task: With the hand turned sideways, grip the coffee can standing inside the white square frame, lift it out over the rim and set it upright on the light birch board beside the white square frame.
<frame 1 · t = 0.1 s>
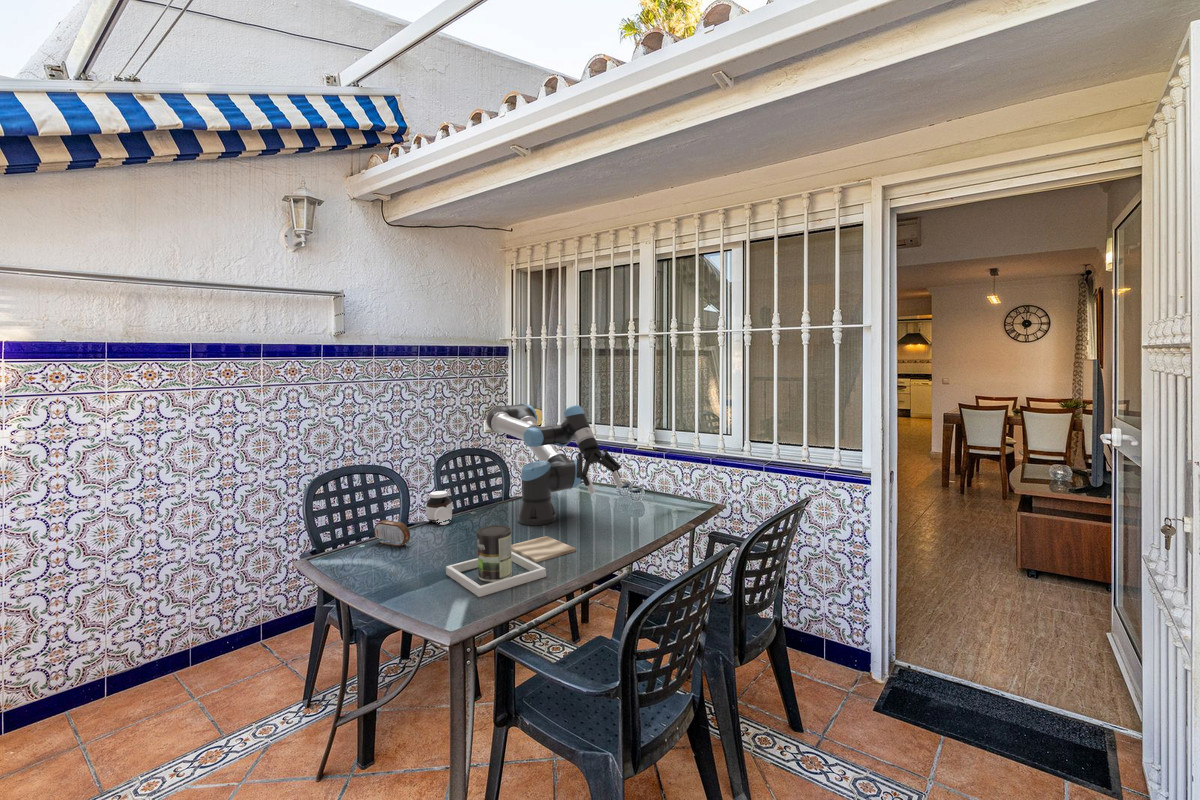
hand: (607, 490, 213), 15 cm above the table, tool tilted 35°, fingers open, 13 cm apart
coffee can: (495, 576, 171), resting in white square frame
tin: (392, 545, 202), on the table
board: (541, 549, 193), on the table
white square frame: (495, 575, 171), on the table
spread jar: (441, 522, 229), on the table
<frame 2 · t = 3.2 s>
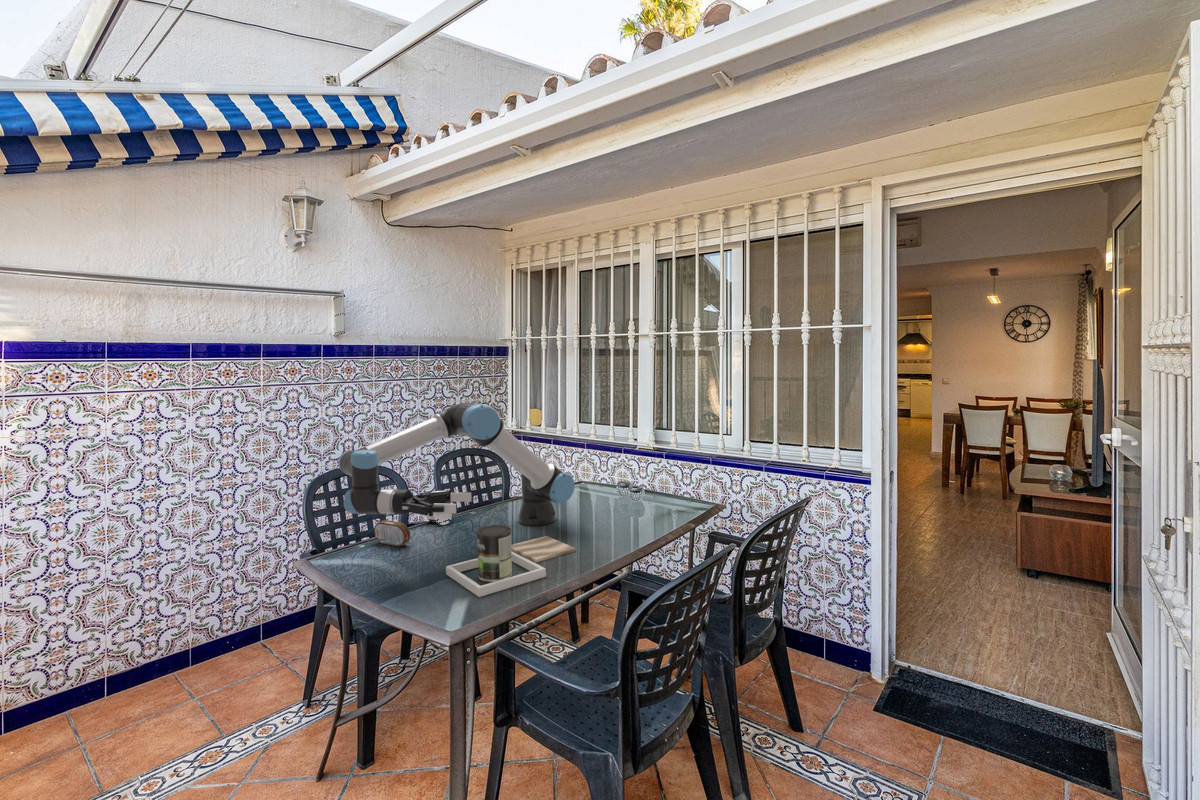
hand: (463, 502, 171), 22 cm above the table, tool horizontal, fingers open, 13 cm apart
nothing on the table moved.
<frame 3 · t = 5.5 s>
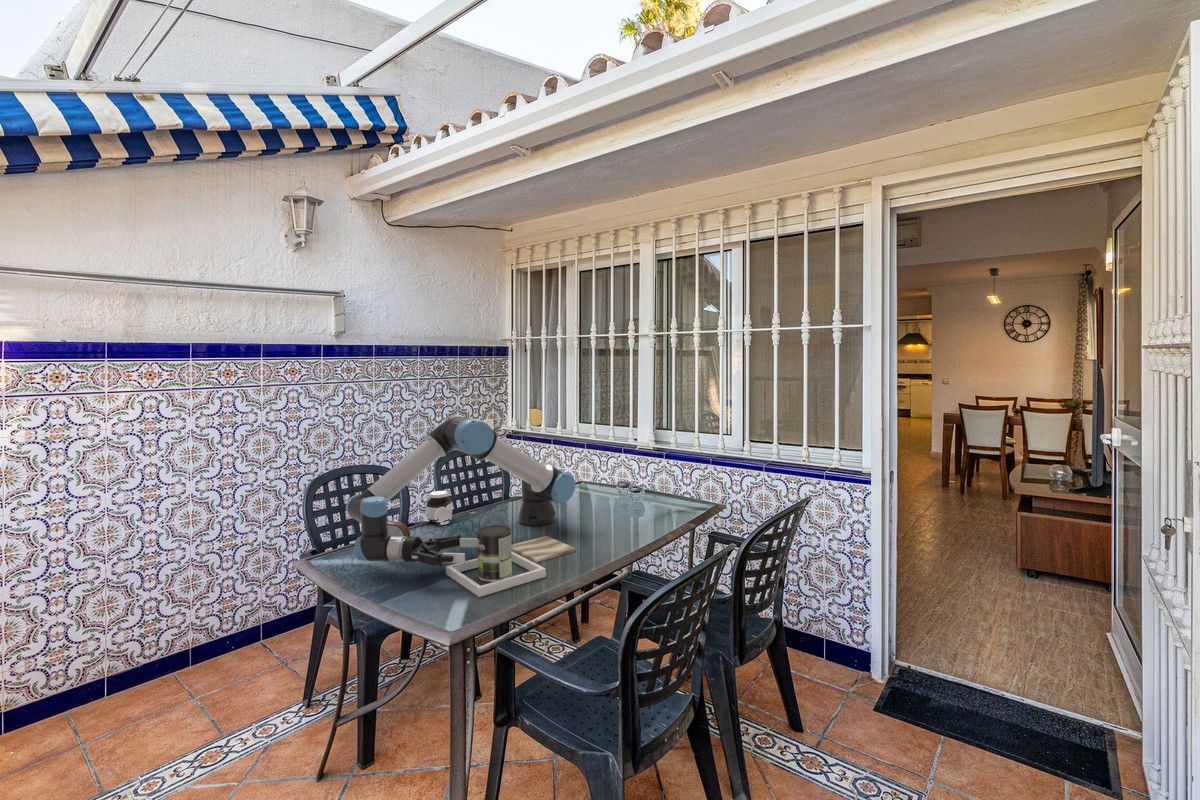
hand: (472, 550, 171), 8 cm above the table, tool horizontal, fingers open, 13 cm apart
nothing on the table moved.
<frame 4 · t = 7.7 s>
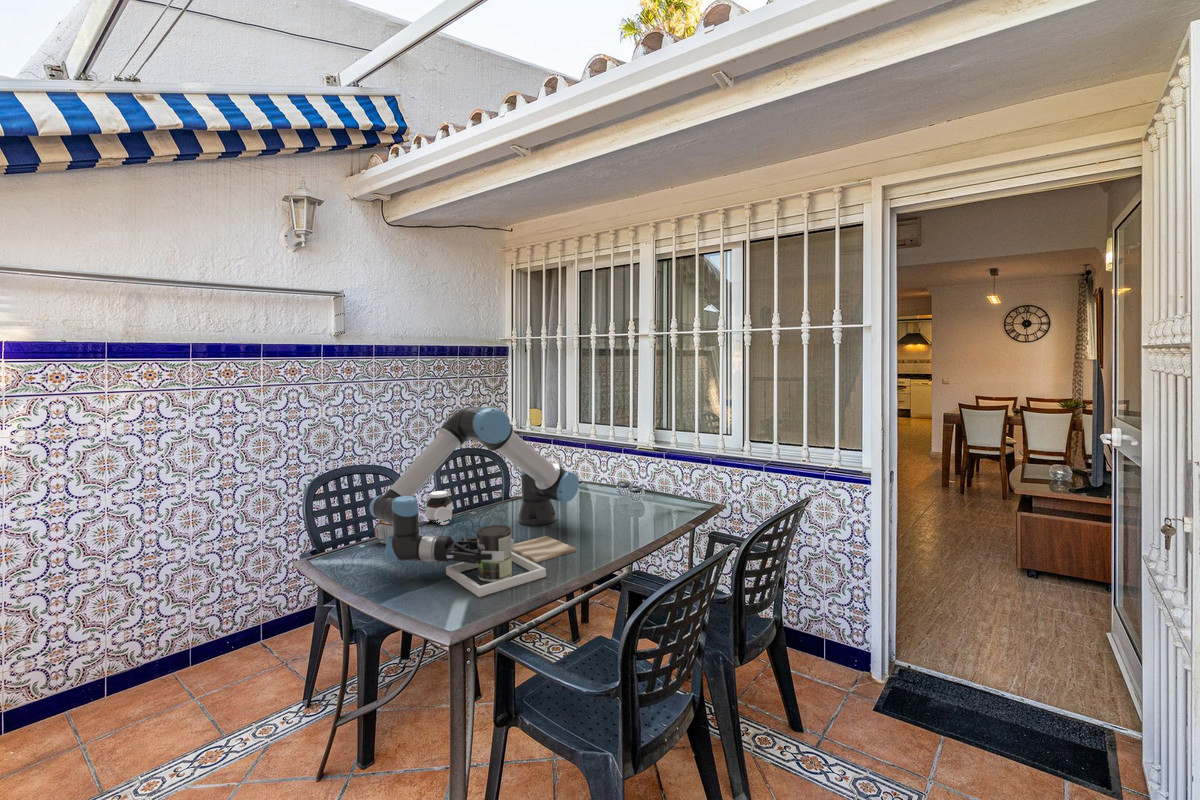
hand: (508, 549, 170), 8 cm above the table, tool horizontal, fingers closed on coffee can, 10 cm apart
coffee can: (495, 576, 171), resting in white square frame, touching gripper
everything else where it was.
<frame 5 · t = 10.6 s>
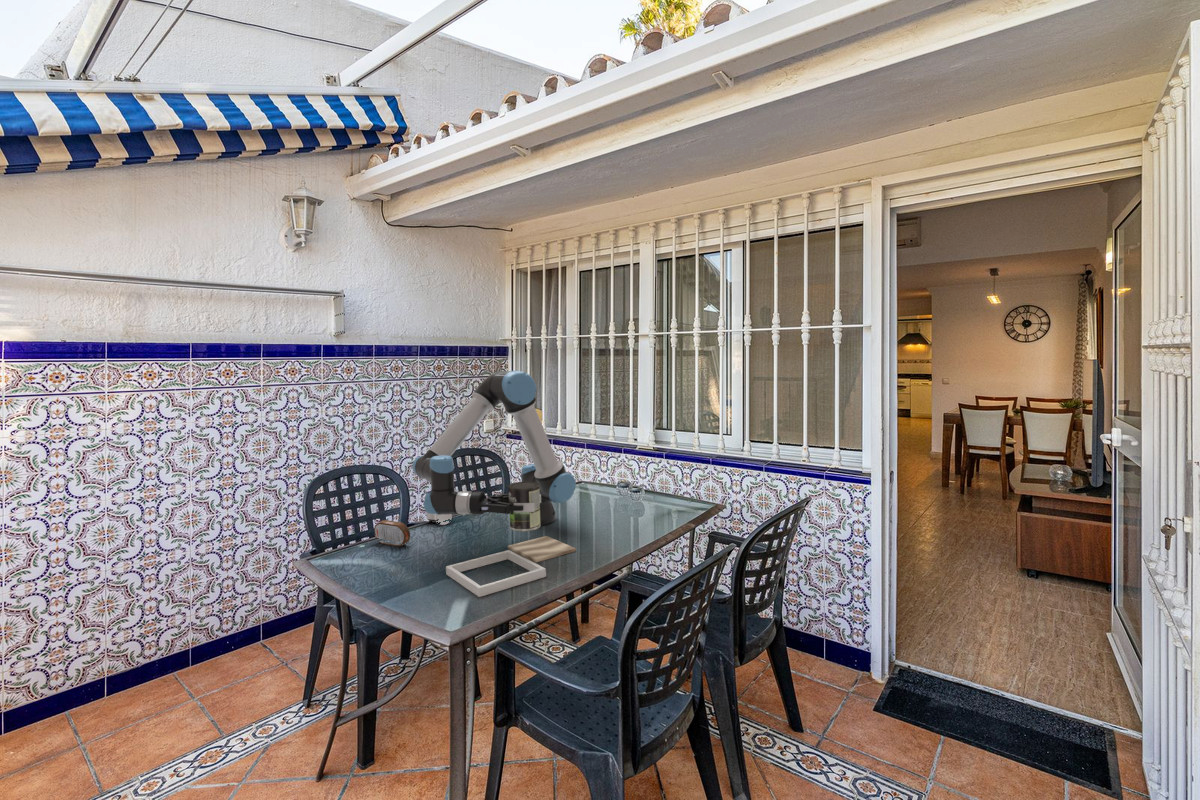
hand: (537, 502, 186), 18 cm above the table, tool horizontal, fingers closed on coffee can, 10 cm apart
coffee can: (525, 527, 187), point 10 cm above the table, touching gripper
everything else where it was.
when the fingers open (10 cm above the table, at t = 13.5 s): coffee can drops 1 cm, resting on board.
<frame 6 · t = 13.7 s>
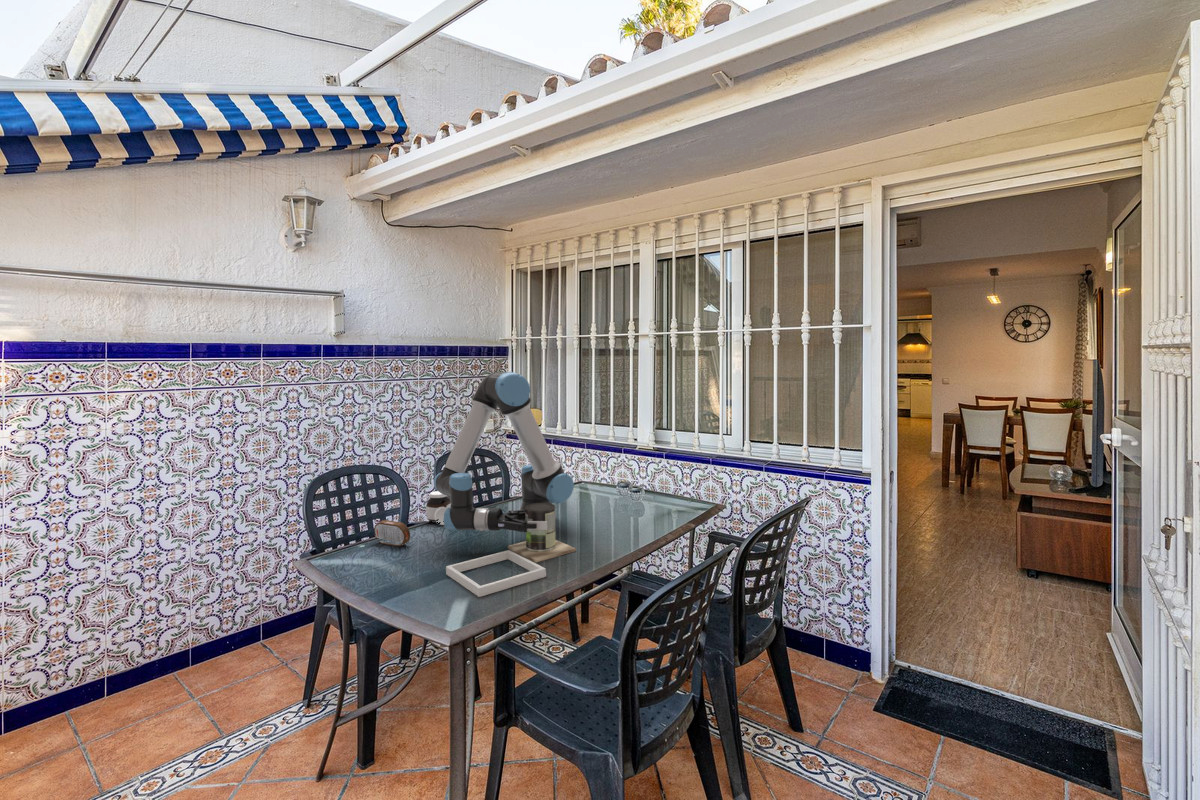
hand: (551, 519, 192), 10 cm above the table, tool horizontal, fingers open, 12 cm apart
coffee can: (541, 547, 193), point 1 cm above the table, touching board
everything else where it was.
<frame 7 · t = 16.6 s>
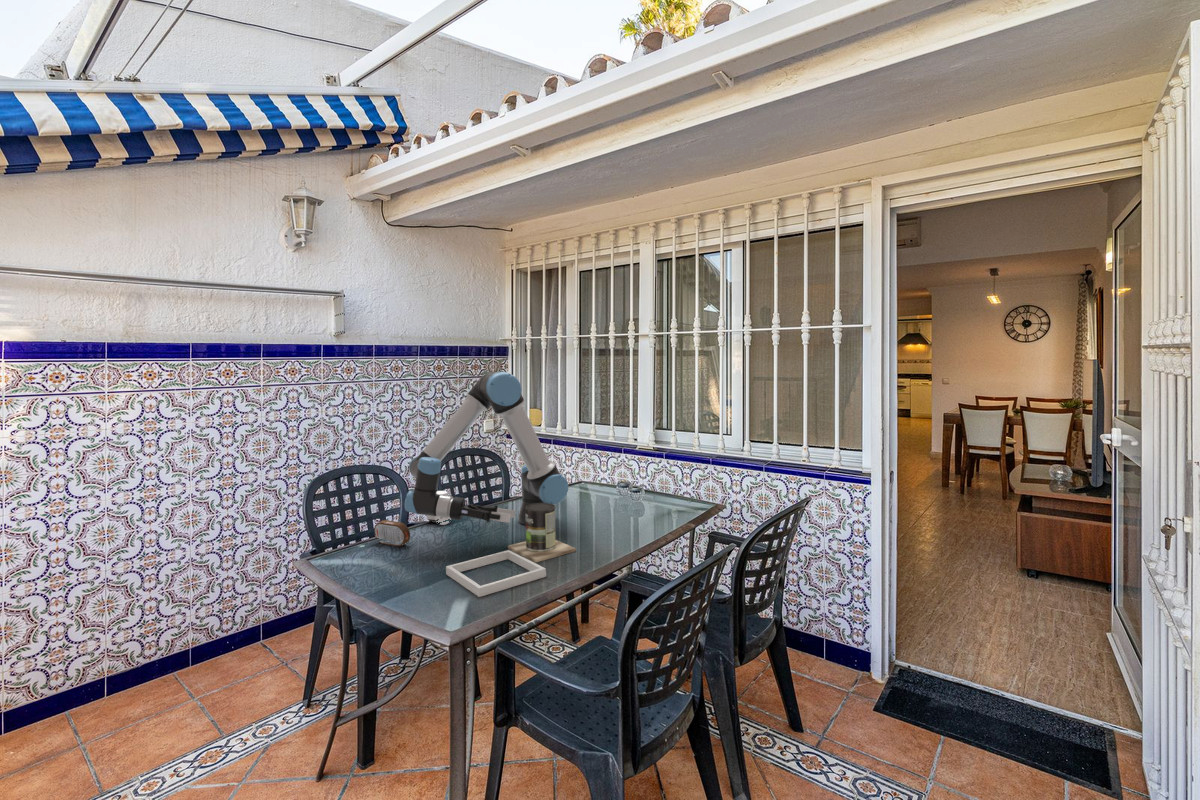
hand: (512, 516, 195), 11 cm above the table, tool horizontal, fingers open, 13 cm apart
nothing on the table moved.
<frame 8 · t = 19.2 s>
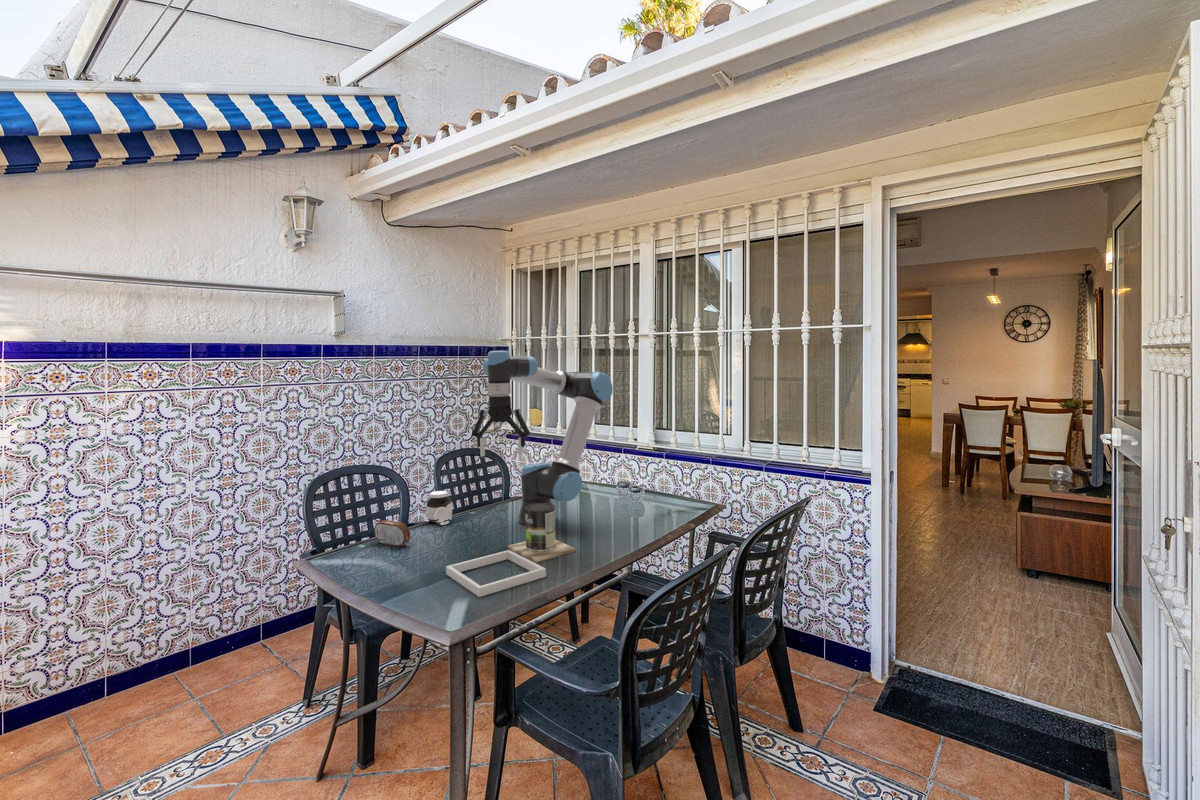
hand: (501, 456, 197), 32 cm above the table, tool pointing down, fingers open, 13 cm apart
nothing on the table moved.
at the end: coffee can inside the target area on the board (0.1 cm from its centre), point 0.8 cm above the board's base; coffee can tilted 0°; the gripper is holding nothing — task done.
